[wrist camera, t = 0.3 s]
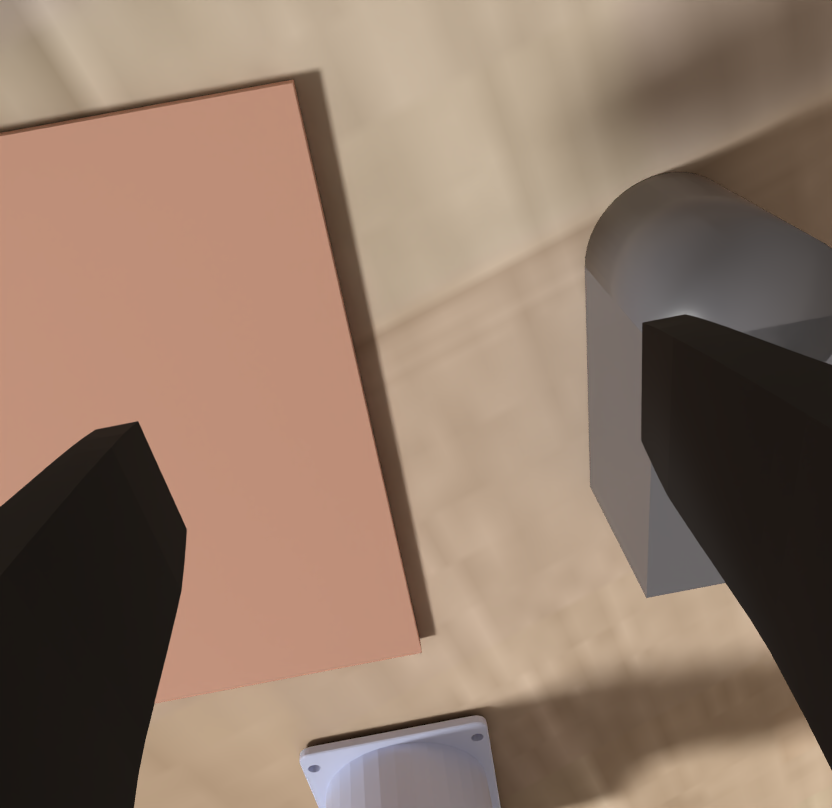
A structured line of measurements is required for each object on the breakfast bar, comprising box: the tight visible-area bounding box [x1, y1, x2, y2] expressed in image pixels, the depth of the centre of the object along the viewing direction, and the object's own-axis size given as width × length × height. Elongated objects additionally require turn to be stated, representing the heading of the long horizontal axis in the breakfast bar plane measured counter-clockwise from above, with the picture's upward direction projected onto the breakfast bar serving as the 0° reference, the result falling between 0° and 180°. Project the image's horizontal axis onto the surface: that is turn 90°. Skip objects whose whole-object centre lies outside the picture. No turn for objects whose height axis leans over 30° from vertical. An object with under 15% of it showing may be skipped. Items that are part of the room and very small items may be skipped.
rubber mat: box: [0, 79, 422, 704], centre depth 22 cm, size 20×12×1 cm, turn 9°
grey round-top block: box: [585, 172, 832, 598], centre depth 20 cm, size 12×4×5 cm, turn 9°
